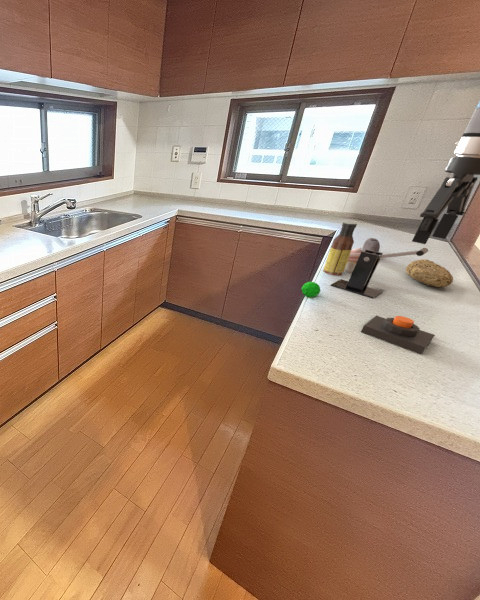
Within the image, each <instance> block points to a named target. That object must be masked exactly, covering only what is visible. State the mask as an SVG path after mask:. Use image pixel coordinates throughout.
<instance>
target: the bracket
mask: <svg viewBox="0 0 480 600" xmlns="http://www.w3.org/2000/svg"><path fill="white" fill-rule="evenodd" d="M372 253H376V254H372ZM382 254H384V252H381V251H379V252H376V251H372V250H367V249H366V250H365V252H363V250H362V252H361V254H360V256H359V258H358V261H357V263H356V265H355V267H354V270H353V272H352V273H350V277H349V279H348V280H345V279H338V280H337V281H335V282H333V283H331V284H330V287H332V288H336V289H340V290H342V291H345V292H349V293H352V294H356V295H360V296H363V297H365V298H369V299H375V298H376V297H377V296H378V295H380V294H382V292H383V290H380V289H377V288H373V287H369V284H370V282H371V280H372V277H373V276H374V273H375V271H376V269H377V267H378V264H380V263H379V262H380V260H381V258H378V256H379V255H382ZM377 258H378V259H377Z"/></svg>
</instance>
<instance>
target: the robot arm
mask: <svg viewBox="0 0 480 600" xmlns="http://www.w3.org/2000/svg"><path fill="white" fill-rule="evenodd" d="M454 143H455V146H456V147H455V150H454V151H453V154H454V155H455V156H452V157H450V159H449V160H448V163H447V165H446V167H445V168H444V172H445V173H448V174H453V175H451V177H448V176H447V177H445V178H444V179H443V182H442V184H441V185H440V187H439V188H438V189H437V191H436V193H435V194H434V195H433V197H432V199H431V200H430V202H429V203H428V204H427V206H426V207H425V209H424V210H423V212H421V213H420V214H419V217H420V218H422V220H421V222H420V224H419V226H418V228H417V229H416V232H415V234H414V236H413V238H412V240H411V242H413V243H417V244H423V245H426V244H427V243H428V241H429V238H430V237H434V238H438V239H443V240H446V239H447V237H448V235H449V233H450V232H451V229H452V228H453V226H454V224H455V222H456V221H457V219H458V217H459V216H464V214H465V212H466V211H465V209H466V206H467V205H468V201H469V199H470V196H471V194H472V191H473V189H474V186H475V184H476V183H477V181H478V178H479V177H477V176H480V101H479V102H478V104H477V105H476V106H475V109H474V111H473V114H472V116H471V117H470V120H469V122H468V124H467V126H466V128H465V129H464V132H463V134H462V136H461V138H460V140H457V141H456V142H454ZM446 208H447V210H446ZM445 210H446V213H444V211H445ZM442 213H443V215H442V216H441V214H442ZM440 216H441V219H440V220H439V218H440ZM435 227H436V228H435ZM434 229H435V230H434ZM432 233H433V234H432ZM431 235H432V236H431Z"/></svg>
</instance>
